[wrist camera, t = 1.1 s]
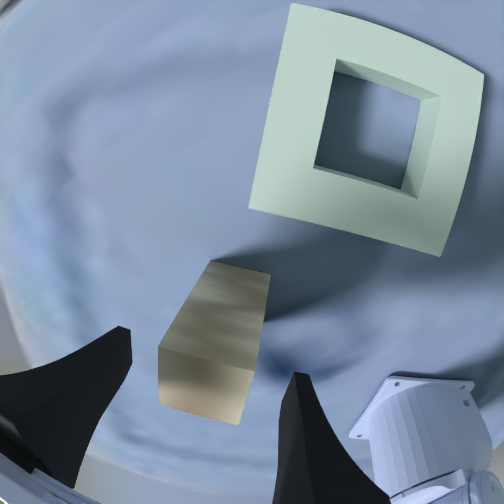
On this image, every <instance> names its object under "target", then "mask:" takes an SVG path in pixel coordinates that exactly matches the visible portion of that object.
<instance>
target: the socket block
mask: <svg viewBox="0 0 504 504" xmlns="http://www.w3.org/2000/svg"><path fill="white" fill-rule="evenodd" d="M334 71H336V72H340V73H343V74H347V75H350V76H354V77H357V78H360V79H363V80H367V81H370V82H373V83H376V84H379V85H382V86H384V87H387V88H390V89H393V90H396V91H398V92H401V93H403V94H406V95H409V96H411V97H414V98H416V99H418V100H421V103H420V109H419V114H418V119H417V124H416V129H415V134H414V138H413V143H412V147H411V151H410V155H409V159H408V163H407V167H406V171H405V175H404V179H403V183H402V186H401V190H400V189H397V188H394V187H391V186H388V185H384V184H381V183H378V182H375V181H371V180H368V179H365V178H361V177H358V176H354V175H351V174H347V173H344V172H340V171H336V170H333V169H329V168H325V167H321V166H317V165H314V161H315V157H316V153H317V148H318V144H319V139H320V135H321V130H322V126H323V121H324V117H325V112H326V107H327V103H328V98H329V93H330V88H331V83H332V78H333V73H334ZM483 82H484V74H482V73H481V72H479V71H477V70H476V69H474V68H472V67H470V66H469V65H467V64H465V63H463V62H461V61H460V60H458V59H456V58H454V57H452V56H450V55H448V54H446V53H444V52H442V51H440V50H438V49H436V48H434V47H432V46H429V45H427V44H425V43H423V42H421V41H418V40H416V39H414V38H411V37H409V36H406V35H404V34H401V33H399V32H396V31H393V30H391V29H388V28H385V27H382V26H380V25H377V24H374V23H371V22H367V21H364V20H361V19H358V18H354V17H351V16H347V15H344V14H340V13H336V12H332V11H328V10H324V9H319V8H315V7H310V6H305V5H300V4H294V3H291V7H290V11H289V16H288V20H287V25H286V29H285V34H284V38H283V43H282V48H281V52H280V57H279V62H278V66H277V71H276V75H275V80H274V85H273V90H272V94H271V99H270V104H269V109H268V113H267V118H266V123H265V128H264V133H263V137H262V142H261V147H260V152H259V157H258V162H257V167H256V172H255V177H254V182H253V187H252V192H251V197H250V202H249V207H248V208H250V209H254V210H259V211H263V212H268V213H272V214H276V215H281V216H285V217H289V218H294V219H298V220H302V221H306V222H310V223H315V224H319V225H323V226H327V227H331V228H335V229H339V230H343V231H347V232H351V233H354V234H358V235H362V236H366V237H370V238H374V239H377V240H381V241H385V242H388V243H392V244H396V245H399V246H403V247H407V248H410V249H414V250H417V251H421V252H424V253H428V254H431V255H435V256H438V257H441V254H442V252H443V249H444V247H445V244H446V241H447V238H448V236H449V233H450V230H451V227H452V224H453V221H454V218H455V215H456V212H457V208H458V205H459V202H460V198H461V195H462V191H463V188H464V184H465V181H466V177H467V173H468V169H469V165H470V160H471V156H472V151H473V147H474V142H475V137H476V131H477V126H478V120H479V114H480V107H481V99H482V91H483Z"/></svg>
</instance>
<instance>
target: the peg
mask: <svg viewBox="0 0 504 504" xmlns="http://www.w3.org/2000/svg"><path fill="white" fill-rule="evenodd" d="M270 278H271V274H267V273H262V272H258V271H254V270H249V269H245V268H241V267H236V266H232V265H228V264H224V263H219V262H215V261H211V260H210V262H209V264H208V265H207V267H206V268H205V270H204V272H203V273H202V275H201V276H200V278H199V280H198V281H197V283H196V285H195V286H194V288H193V289H192V291H191V293H190V294H189V296H188V298H187V299H186V301H185V302H184V304H183V306H182V307H181V309H180V311H179V312H178V314H177V316H176V317H175V319H174V321H173V322H172V324H171V325H170V327H169V329H168V330H167V332H166V334H165V336H164V337H163V339H162V341H161V342H160V344H159V346H158V386H159V404H162V405H165V406H168V407H171V408H174V409H178V410H181V411H184V412H188V413H191V414H195V415H199V416H202V417H206V418H210V419H214V420H218V421H222V422H226V423H230V424H235V425H239V422H240V419H241V415H242V412H243V409H244V406H245V403H246V399H247V396H248V393H249V389H250V386H251V383H252V380H253V376H254V373H255V368H256V362H257V357H258V351H259V345H260V339H261V333H262V327H263V321H264V315H265V309H266V303H267V297H268V290H269V284H270Z"/></svg>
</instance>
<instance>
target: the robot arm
mask: <svg viewBox="0 0 504 504" xmlns="http://www.w3.org/2000/svg"><path fill="white" fill-rule="evenodd" d="M131 365H132V348H131V331H130V329H127V328H124V327H121V326H117V327H116V328H114V329H112V330H111V331H109V332H107V333H106V334H104V335H102V336H101V337H99V338H98V339H96V340H94V341H93V342H91V343H89V344H88V345H86V346H84V347H82V348H81V349H79V350H77V351H75V352H73V353H71V354H69V355H67V356H65V357H63V358H61V359H59V360H57V361H54V362H52V363H49V364H46V365H44V366H41V367H37V368H34V369H31V370H27V371H24V372H19V373H14V374H8V375H0V499H1V500H2V501H3V502H4V503H6V504H65V503H67V504H101V503H99V502H97V501H94V500H92V499H90V498H88V497H86V496H84V495H82V494H80V493H78V492H76V491H74V490H72V489H73V488H74V487H75V483H76V480H77V476H78V472H79V469H80V466H81V463H82V461H83V458H84V455H85V452H86V450H87V447H88V445H89V442H90V440H91V437H92V435H93V433H94V431H95V428H96V426H97V424H98V422H99V420H100V418H101V416H102V415H103V413H104V412H105V410H106V408H107V407H108V405H109V404H110V402H111V400H112V399H113V397H114V396H115V394H116V393H117V391H118V390H119V388H120V386H121V385H122V383H123V382H124V380H125V378H126V376H127V374H128V371H129V369H130V367H131ZM396 382H397V383H396ZM474 386H475V384H474V382H473V381H460V380H440V379H425V378H412V377H402V376H390V377H388V378H387V379H386V380H385V382H384V383H383V385H382V386H381V388H380V389H379V391H378V392H377V394H376V395H375V397H374V398H373V400H372V401H371V403H370V404H369V406H368V407H367V409H366V410H365V412H364V413H363V414H362V416H361V417H360V419H359V420H358V421H357V423H356V424H355V425H354V427H353V428H352V429H351V431H350V432H349V437H350V438H353V439H369V442H370V448H371V455H372V463H373V470H374V478H375V483H374V482H372V481H371V480H370V479H369V478H368V477H367V476H366V475H365V474H364V472H363V471H362V470H361V469H360V468H359V467H358V465H357V464H356V463H355V462H354V461H353V460H352V458H351V457H350V456H349V454H348V453H347V452H346V450H345V449H344V447H343V446H342V444H341V443H340V441H339V440H338V438H337V436H336V435H335V433H334V431H333V429H332V427H331V426H330V424H329V422H328V420H327V418H326V416H325V414H324V411H323V409H322V407H321V405H320V403H319V400H318V398H317V395H316V393H315V390H314V387H313V385H312V382H311V379H310V376H309V375H308V374H304V373H299V372H294V373H293V376H292V378H291V381H290V383H289V385H288V388H287V390H286V393H285V395H284V397H283V399H282V403H281V410H280V417H279V439H278V470H277V478H276V485H275V491H274V497H273V502H272V504H504V489H503V487H502V485H501V483H500V481H499V479H498V478H497V477H496V475H495V474H494V473H492V472H489V471H487V470H488V467H489V465H490V462H491V458H492V440H491V437H490V435H489V432H488V430H487V428H486V425H485V423H484V421H483V419H482V416H481V414H480V412H479V410H478V408H477V406H476V404H475V402H474V399H473V397H472V395H471V393H470V392H471V391H472V389H473V388H474ZM57 498H58V499H57ZM59 499H60V500H62V501H63V502H65V503H63V502H62V501H60V500H59Z"/></svg>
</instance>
